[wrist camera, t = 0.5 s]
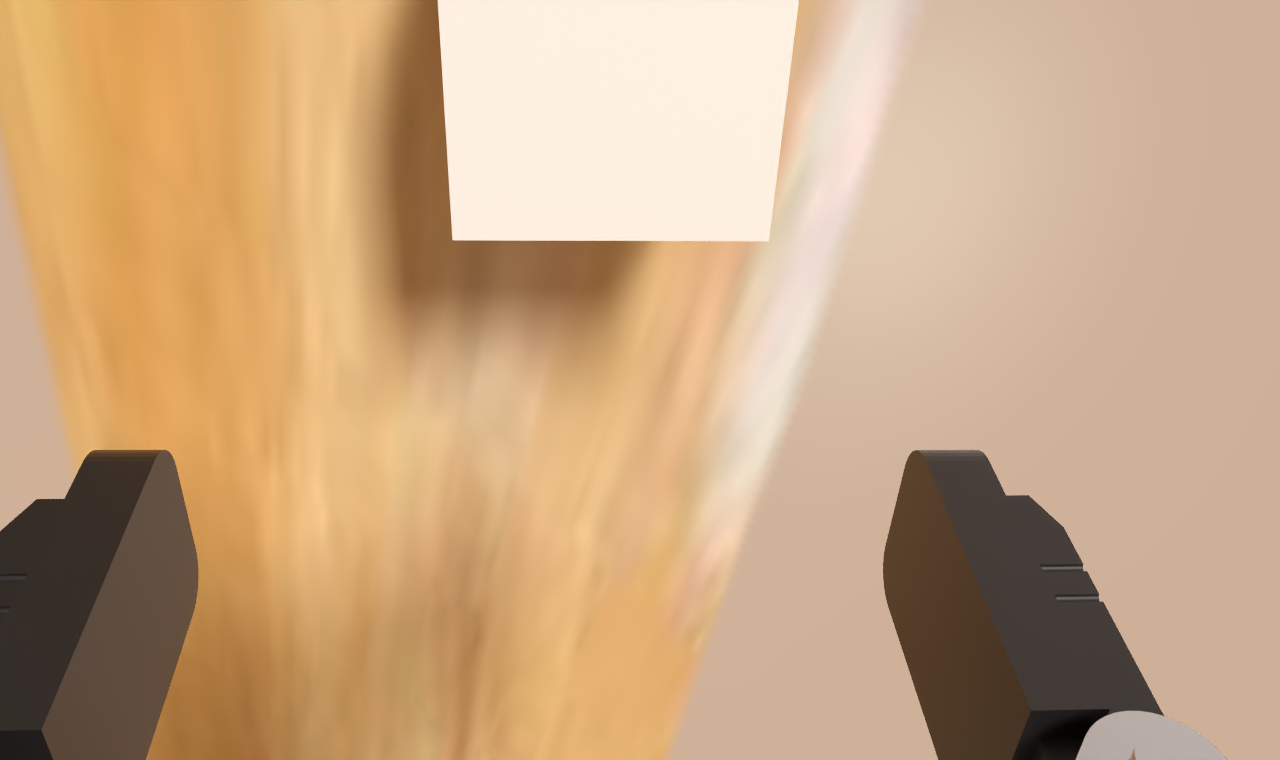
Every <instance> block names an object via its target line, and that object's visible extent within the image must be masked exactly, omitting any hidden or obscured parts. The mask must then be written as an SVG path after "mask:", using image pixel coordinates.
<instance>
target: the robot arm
mask: <svg viewBox="0 0 1280 760" xmlns="http://www.w3.org/2000/svg"><path fill="white" fill-rule="evenodd" d="M883 578H884V589H885V595H886V599H887V603H888V607H889V610H890V613H891V616H892V619H893V622H894V625H895V628H896V631H897V635H898V638H899V641H900V644H901V647H902V650H903V653H904V656H905V659H906V662H907V665H908V668H909V671H910V674H911V677H912V680H913V683H914V686H915V690H916V693H917V696H918V699H919V702H920V705H921V708H922V711H923V714H924V717H925V720H926V723H927V726H928V729H929V732H930V735H931V738H932V741H933V744H934V747H935V751H936V754H937V756H938V760H1227V758H1226V757H1225V756H1224V755H1223V754H1222V753H1221V752H1220V751H1219V750H1218V749H1217V747H1216V746H1214V745H1213V744H1212V743H1211V742H1210V741H1209V740H1207V739H1206V738H1205V737H1203V736H1202V735H1201V734H1199V733H1198V732H1196V731H1195V730H1193V729H1192V728H1190V727H1188V726H1186V725H1184V724H1182V723H1180V722H1178V721H1176V720H1173V719H1170V718H1168V717H1165V716H1164V715H1163V713H1162V711H1161V710H1160V708H1159V706H1158V704H1157V702H1156V700H1155V698H1154V697H1153V695H1152V693H1151V691H1150V689H1149V687H1148V685H1147V683H1146V681H1145V680H1144V678H1143V676H1142V674H1141V672H1140V670H1139V668H1138V666H1137V665H1136V663H1135V661H1134V659H1133V657H1132V655H1131V654H1130V651H1129V650H1128V648H1127V646H1126V644H1125V642H1124V640H1123V638H1122V636H1121V635H1120V633H1119V631H1118V629H1117V627H1116V625H1115V623H1114V621H1113V620H1112V618H1111V616H1110V614H1109V612H1108V610H1107V608H1106V606H1105V604H1104V603H1103V602H1100V601H1099V597H1098V596H1099V593H1098V591H1097V589H1096V587H1095V586H1094V584H1093V582H1092V580H1091V578H1090V576H1089V574H1088V572H1087V571H1083V563H1082V561H1081V559H1080V557H1079V555H1078V554H1077V552H1076V550H1075V548H1074V546H1073V544H1072V543H1071V541H1070V539H1069V537H1068V535H1067V533H1066V531H1065V529H1064V527H1063V526H1061V525H1060V524H1059V523H1058V522H1057V521H1056V520H1055V519H1054V518H1053V517H1052V516H1050V515H1049V514H1048V513H1047V512H1046V511H1045V510H1044V509H1043V508H1042V507H1041V506H1039V505H1038V504H1037V503H1036V502H1035V501H1034V500H1033V499H1032V498H1030V496H1029V495H1028V496H1006V495H1005V493H1004V491H1003V489H1002V487H1001V484H1000V482H999V481H998V478H997V476H996V474H995V472H994V470H993V468H992V466H991V464H990V462H989V460H988V458H987V457H986V455H985V454H984V453H983V452H981V451H979V450H915V451H913V452H912V453H911V454H910V456H909V457H908V459H907V462H906V465H905V469H904V473H903V477H902V481H901V485H900V489H899V493H898V497H897V501H896V506H895V510H894V514H893V518H892V522H891V527H890V530H889V534H888V538H887V542H886V546H885V552H884V563H883ZM197 590H198V560H197V553H196V548H195V544H194V540H193V536H192V532H191V527H190V523H189V519H188V515H187V510H186V506H185V502H184V498H183V493H182V489H181V485H180V481H179V477H178V472H177V468H176V465H175V461H174V459H173V457H172V455H171V453H170V452H168V451H167V450H94V451H92V452H90V453H89V454H88V455H87V456H86V458H85V459H84V461H83V463H82V465H81V467H80V469H79V471H78V473H77V475H76V477H75V479H74V481H73V483H72V485H71V487H70V489H69V491H68V493H67V495H66V497H65V499H37V500H35V501H34V502H33V503H32V504H31V505H30V506H29V507H27V508H26V509H25V510H24V511H23V512H22V513H21V514H19V515H18V516H17V517H16V518H15V519H14V520H13V521H12V522H10V523H9V524H8V525H7V526H6V527H5V528H4V529H2V530H1V531H0V760H146V757H147V754H148V751H149V748H150V745H151V742H152V738H153V735H154V732H155V729H156V726H157V723H158V720H159V717H160V714H161V711H162V708H163V705H164V702H165V698H166V695H167V692H168V689H169V686H170V683H171V680H172V677H173V674H174V671H175V668H176V665H177V662H178V658H179V655H180V652H181V649H182V646H183V643H184V640H185V637H186V634H187V631H188V628H189V625H190V621H191V618H192V615H193V612H194V608H195V604H196V598H197Z"/></svg>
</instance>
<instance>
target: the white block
mask: <svg viewBox="0 0 1280 760" xmlns="http://www.w3.org/2000/svg"><path fill="white" fill-rule="evenodd" d="M798 3H799V0H438V14H439V30H440V46H441V62H442V78H443V94H444V111H445V127H446V143H447V159H448V175H449V192H450V208H451V224H452V240H499V241H769V235H770V227H771V219H772V211H773V203H774V195H775V187H776V179H777V171H778V163H779V155H780V147H781V139H782V131H783V123H784V115H785V107H786V99H787V91H788V83H789V75H790V67H791V59H792V51H793V43H794V35H795V27H796V19H797V11H798Z"/></svg>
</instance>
